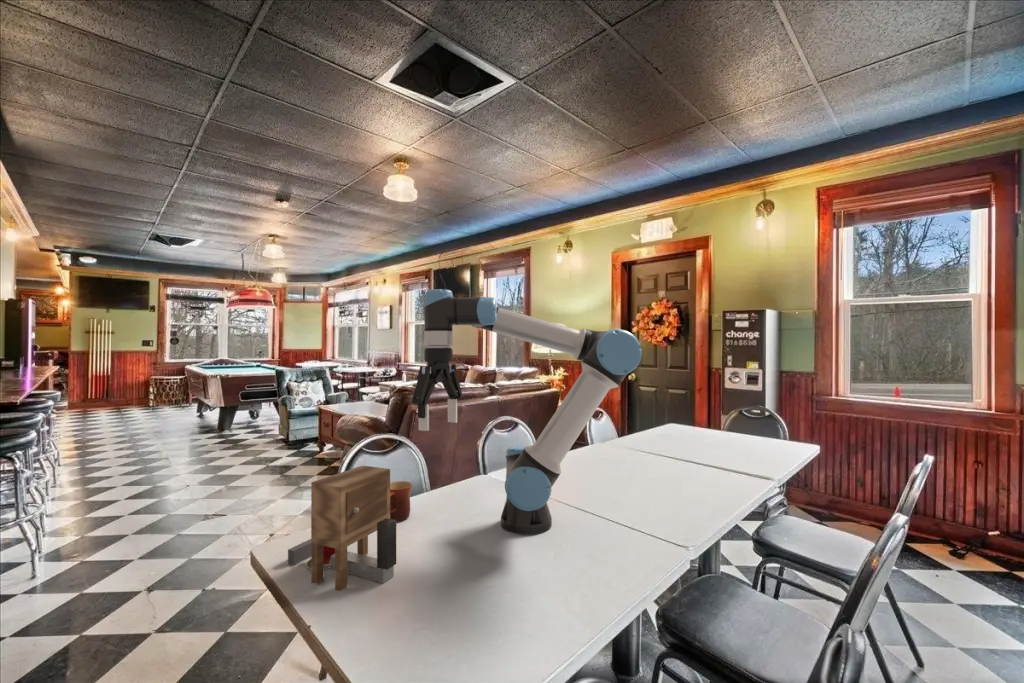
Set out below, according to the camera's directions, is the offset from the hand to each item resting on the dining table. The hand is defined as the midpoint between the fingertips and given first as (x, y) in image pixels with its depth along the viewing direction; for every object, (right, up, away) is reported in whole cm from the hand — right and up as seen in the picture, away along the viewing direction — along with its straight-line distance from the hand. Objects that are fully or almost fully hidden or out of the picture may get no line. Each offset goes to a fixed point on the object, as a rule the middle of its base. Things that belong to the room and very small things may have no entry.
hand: (438, 426), depth 120 cm
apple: (-27, -32, -10) cm, 43 cm away
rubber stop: (-33, -32, -7) cm, 46 cm away
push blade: (-15, -31, -15) cm, 38 cm away
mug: (-16, -32, +17) cm, 40 cm away
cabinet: (-18, -32, -14) cm, 39 cm away
